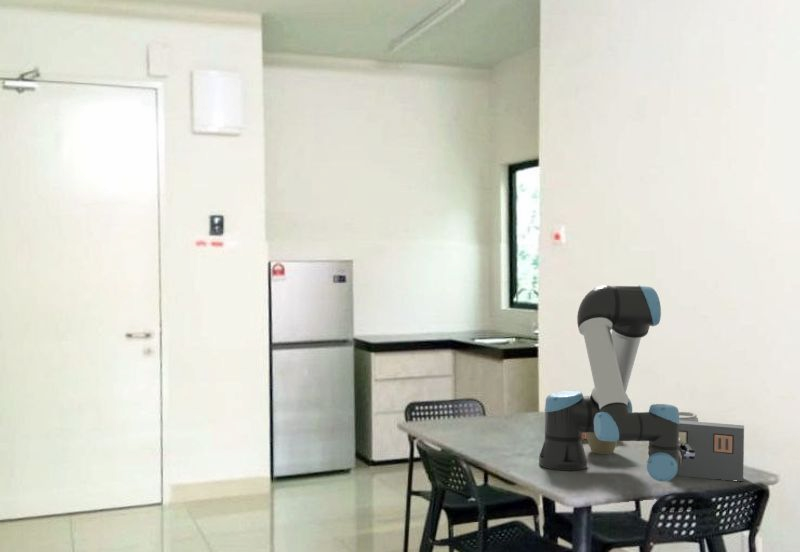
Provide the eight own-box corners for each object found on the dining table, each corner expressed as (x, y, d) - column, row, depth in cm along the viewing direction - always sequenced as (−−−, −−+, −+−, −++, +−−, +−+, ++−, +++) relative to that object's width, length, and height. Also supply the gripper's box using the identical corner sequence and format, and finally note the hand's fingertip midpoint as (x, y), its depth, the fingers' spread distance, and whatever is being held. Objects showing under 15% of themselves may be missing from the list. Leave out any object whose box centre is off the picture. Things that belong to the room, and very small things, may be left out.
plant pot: (587, 445, 296) (588, 401, 296) (628, 450, 289) (629, 405, 289) (574, 453, 283) (574, 406, 283) (617, 458, 276) (618, 410, 276)
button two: (732, 453, 246) (732, 436, 246) (714, 451, 248) (714, 434, 248) (732, 451, 249) (732, 434, 249) (714, 449, 251) (715, 433, 251)
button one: (685, 450, 249) (685, 433, 249) (668, 448, 251) (668, 432, 251) (686, 448, 252) (686, 432, 252) (669, 446, 254) (669, 430, 254)
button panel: (742, 482, 246) (743, 428, 246) (658, 473, 256) (659, 421, 256) (743, 478, 251) (744, 425, 251) (661, 469, 261) (661, 418, 261)
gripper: (643, 468, 231) (655, 452, 252) (692, 473, 225) (700, 456, 247) (643, 441, 231) (655, 427, 252) (693, 446, 225) (700, 431, 247)
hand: (677, 442), depth 249 cm, fingers closed
